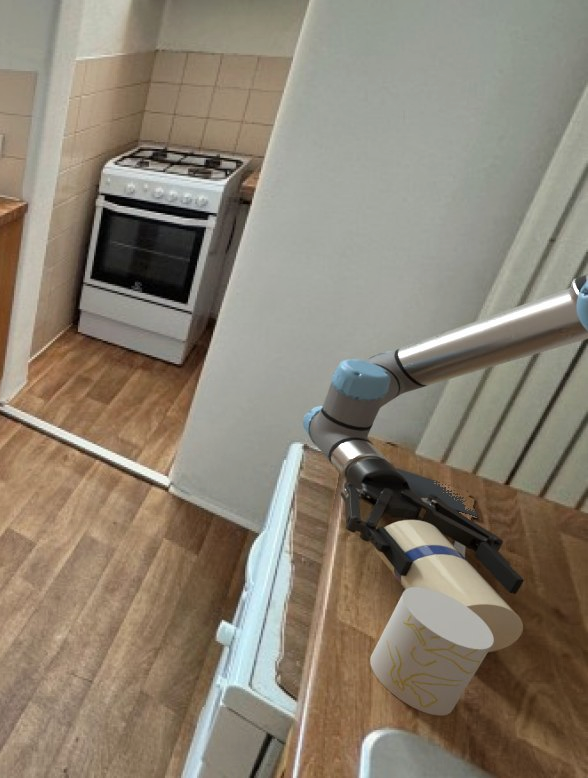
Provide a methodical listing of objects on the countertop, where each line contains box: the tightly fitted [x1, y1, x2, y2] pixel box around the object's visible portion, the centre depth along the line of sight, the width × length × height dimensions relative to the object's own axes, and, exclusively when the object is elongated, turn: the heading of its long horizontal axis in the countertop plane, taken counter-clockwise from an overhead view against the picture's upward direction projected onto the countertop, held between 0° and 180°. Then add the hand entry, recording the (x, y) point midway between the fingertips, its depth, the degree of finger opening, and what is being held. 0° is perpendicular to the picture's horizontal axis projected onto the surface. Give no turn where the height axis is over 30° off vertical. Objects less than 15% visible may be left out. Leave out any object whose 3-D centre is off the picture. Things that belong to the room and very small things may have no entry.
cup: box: [369, 587, 494, 716], centre depth 75 cm, size 8×8×12 cm
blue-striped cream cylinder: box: [373, 519, 524, 653], centre depth 86 cm, size 14×9×9 cm, turn 169°
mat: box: [395, 467, 479, 518], centre depth 109 cm, size 10×8×1 cm
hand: (461, 578), depth 85 cm, fingers open, 13 cm apart
